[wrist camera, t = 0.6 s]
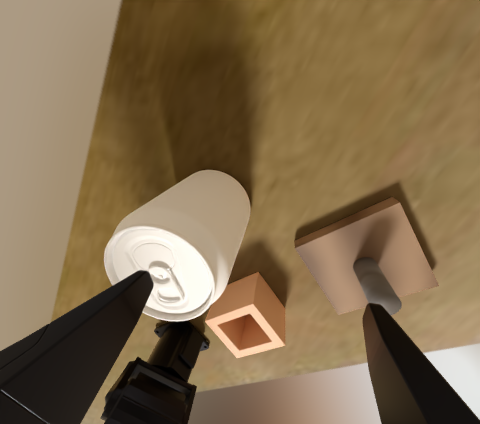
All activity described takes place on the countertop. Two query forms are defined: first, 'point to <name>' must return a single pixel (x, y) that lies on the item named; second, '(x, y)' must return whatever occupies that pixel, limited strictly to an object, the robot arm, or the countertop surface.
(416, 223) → the countertop surface
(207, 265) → the beverage can
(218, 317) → the collar
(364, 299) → the post stand
